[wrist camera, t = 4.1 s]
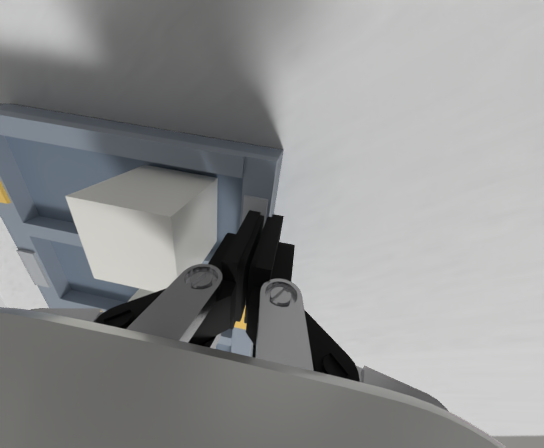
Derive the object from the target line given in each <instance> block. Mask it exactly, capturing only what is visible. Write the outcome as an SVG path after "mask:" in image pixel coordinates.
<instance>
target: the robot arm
mask: <svg viewBox="0 0 544 448" xmlns="http://www.w3.org/2000/svg"><path fill="white" fill-rule="evenodd" d="M282 222H283V216H279V215H274V214H272V217H267V219H266V222H265V225H264V228H263V224H264V216H263V215H261V212H257V211H252V210H249V211H248V213H247V215H246V217H245V219H244V221H243V222H242V224H241V226H240V228H239V230H238V232H237V233H236V234H233V233H227V234H226V235H225V237H224V239H223V240H222V242H221V243H220V245H219V247H218V248H217V250H216V252H215V253H214V255H213V256H212V258H211V260H210V261H209V263H208V264H198V265H193V266H191V267H189V268H187V269H186V270H185V271H183V272H182V273H181V274H180V275H179V276H178V277H177V278H176V279H175V280H174V281H173V282H172V283H171V284H170V285H169V286H168V287H167V288H166V289H163V290H160V291H157V292H155V293H152V294H149V295H146V296H143V297H140V298H137V299H135V300H132V301H129V302H126V303H123V304H120V305H117V306H115V307H113V308H110V309H108V310H107V311H105V312H103V311H102V309H101V308H39V309H31V310H25V309H17V308H2V307H0V448H507V447H505V446H504V445H503V444H501V443H500V442H498V441H497V440H496V439H494V438H493V437H491V436H490V435H488V434H487V433H485V432H484V431H482V430H480V429H479V428H477V427H475V426H474V425H472V424H470V423H469V422H467V421H465V420H464V419H462V418H460V417H458V416H456V415H454V414H452V413H450V412H449V411H448V410H447V409H446V408H445V407H444V406H443V405H442V404H441V403H440V402H439V401H438V400H437V399H435V398H434V397H432V396H430V395H429V394H427V393H425V392H422V391H420V390H418V389H416V388H413V387H411V386H409V385H407V384H404V383H402V382H400V381H398V380H395V379H393V378H391V377H389V376H387V375H384V374H382V373H380V372H378V371H375V370H373V369H371V368H369V367H366V366H364V367H363V369H362V368H360V367H358V366H356V365H355V363H354V362H353V361H352V359H351V358H350V357H349V356H348V355H347V354H346V353H345V352H344V350H343V349H342V348H341V347H340V346H339V345H338V344H337V343H336V342H335V341H334V340H333V339H332V338H331V337H330V336H329V335H328V334H327V333H326V332H325V331H324V330H323V329H322V328H321V327H320V326H319V325H318V324H317V322H316V321H315V320H314V319H313V318H312V317H311V316H310V315H309V314H308V313H307V312H306V311H305V310H304V305H303V299H302V294H301V291H300V289H299V288H298V287H297V286H296V285H295V284H294V283H292V282H291V277H292V267H293V257H294V246H295V245H292V244H286V243H281V242H279V240H280V234H281V228H282ZM245 306H246V308H245ZM244 309H245V317H244V323H247V325H246V334H247V335H248V337H249V338H250V340H251V341H252V343H253V346H252V357H250V356H245V355H241V354H236V353H232V352H227V351H223V350H218V349H215V347H216V345H217V343H218V341H219V339H220V336H221V333H222V332H224V331H226V330H228V329H233V328H234V325H235V322H236V321H237V322H240V321H241V319H242V315H243V312H244Z"/></svg>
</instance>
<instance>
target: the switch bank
mask: <svg viewBox="0 0 544 448" xmlns="http://www.w3.org/2000/svg"><path fill="white" fill-rule="evenodd" d="M282 156H283V150H281V149H275V148H269V147H264V146H258V145H252V144H246V143H240V142H234V141H228V140H222V139H216V138H210V137H204V136H198V135H192V134H187V133H181V132H175V131H169V130H163V129H157V128H151V127H145V126H139V125H133V124H127V123H121V122H115V121H110V120H104V119H98V118H92V117H86V116H80V115H74V114H68V113H62V112H56V111H50V110H44V109H38V108H32V107H27V106H21V105H15V104H0V216H1V218H2V220H3V222H4V224H5V225H6V227H7V229H8V231H9V233H10V235H11V237H12V239H13V240H14V242H15V244H16V246H17V248H18V250H17V253H18V254H19V256H20V258H21V260H22V262H23V264H24V266H25V267H26V269H27V271H28V273H29V275H30V277H31V278H32V280H33V282H34V284H35V285H37V286H38V287H39V289H40V291H41V293H42V295H43V297H44V299H45V301H46V302H47V304H48V306H49V308H101V309H102V311H103V312H105V311H107V310H108V309H110V308H113V307H115V306H117V305H120V304H123V303H126V302H128V301H129V299H130V298H131V297H132V296H133V295H134V294H135V293H136V292H137V291H138V290H139V288H135V287H131V286H126V285H122V284H117V283H113V282H108V281H104V280H99V279H95V278H94V277H93V274H92V271H91V268H90V265H89V263H88V260H87V257H86V254H85V251H84V248H83V246H82V243H81V240H80V237H79V234H78V231H77V228H76V226H75V223H74V220H73V217H72V214H71V211H70V209H69V206H68V203H67V200H66V197H65V196H66V195H69V194H72V193H74V192H77V191H79V190H82V189H84V188H87V187H90V186H92V185H95V184H97V183H100V182H102V181H105V180H107V179H110V178H113V177H115V176H118V175H120V174H123V173H125V172H128V171H130V170H133V169H136V168H138V167H141V166H143V165H149V166H155V167H160V168H166V169H171V170H177V171H182V172H188V173H193V174H199V175H204V176H210V177H215V178H218V185H217V242H216V243H215V245H214V246H213V248H212V249H211V251H210V252H209V254H208V255H207V257H206V258H205V260H204V261H203V263H202V264H208V263H209V261H210V260H211V258H212V256H213V255H214V253H215V252H216V250H217V248H218V247H219V245H220V243H221V242H222V240H223V239H224V237H225V235H226V234H227V233H233V234H236V233H237V232H238V230H239V228H240V226H241V224H242V222H243V221H244V219H245V217H246V215H247V213H248V211H249V210H252V211H257V212H261V215H263V216H264V224H263V228H264V225H265V222H266V219H267V217H272V214H274V208H275V201H276V195H277V188H278V182H279V175H280V169H281V162H282ZM245 308H246V306H245ZM244 317H245V309H244V312H243V315H242V319H241V321H240V322H237V321H236V322H235V325H234V328H233V329H228V330H226V331H224V332H222V333H221V336H220V339H219V341H218V343H217V345H216V349H218V350H223V351H227V352H232V353H236V354H241V355H245V356H250V357H252V346H253V343H252V341H251V340H250V338H249V337H248V335H247V334H246V325H247V323H244Z"/></svg>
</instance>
